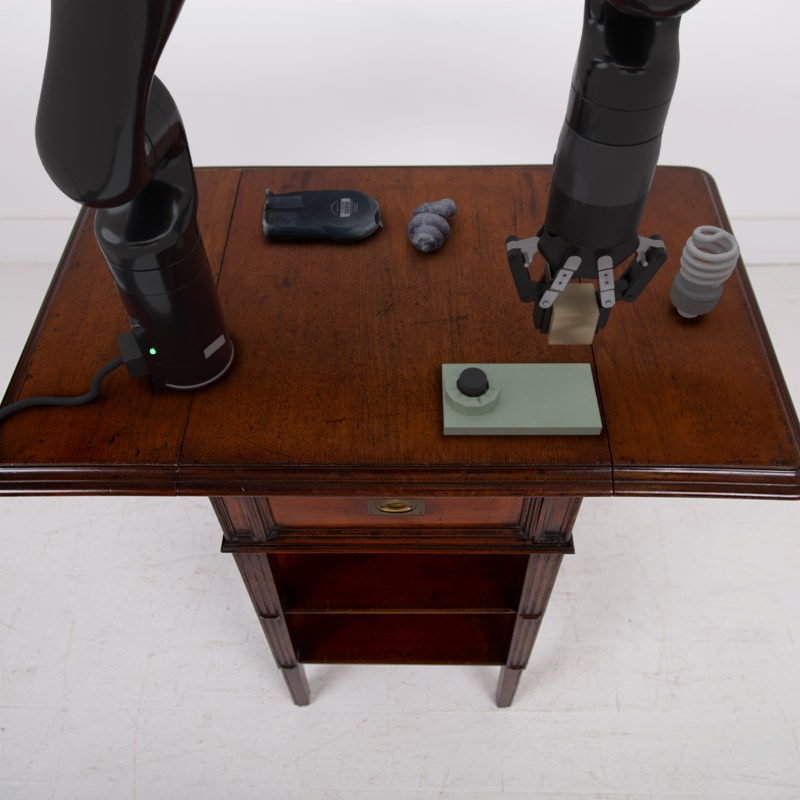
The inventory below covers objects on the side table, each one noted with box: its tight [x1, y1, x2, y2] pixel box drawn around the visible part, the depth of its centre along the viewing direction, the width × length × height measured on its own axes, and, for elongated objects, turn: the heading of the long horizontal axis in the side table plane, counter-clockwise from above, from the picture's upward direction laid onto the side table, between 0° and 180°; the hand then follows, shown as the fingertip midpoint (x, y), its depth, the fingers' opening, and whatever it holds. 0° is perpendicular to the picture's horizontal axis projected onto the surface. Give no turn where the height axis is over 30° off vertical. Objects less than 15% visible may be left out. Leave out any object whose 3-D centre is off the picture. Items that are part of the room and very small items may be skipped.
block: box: [546, 282, 599, 345], centre depth 70 cm, size 4×4×4 cm
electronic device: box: [262, 188, 383, 243], centre depth 98 cm, size 9×6×15 cm
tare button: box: [459, 367, 487, 397], centre depth 78 cm, size 3×3×2 cm
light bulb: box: [669, 225, 741, 319], centre depth 83 cm, size 6×6×12 cm
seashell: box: [407, 197, 458, 253], centre depth 96 cm, size 5×5×10 cm
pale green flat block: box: [441, 362, 603, 436], centre depth 79 cm, size 16×9×3 cm, turn 89°
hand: (567, 327), depth 72 cm, fingers closed on block, 4 cm apart
